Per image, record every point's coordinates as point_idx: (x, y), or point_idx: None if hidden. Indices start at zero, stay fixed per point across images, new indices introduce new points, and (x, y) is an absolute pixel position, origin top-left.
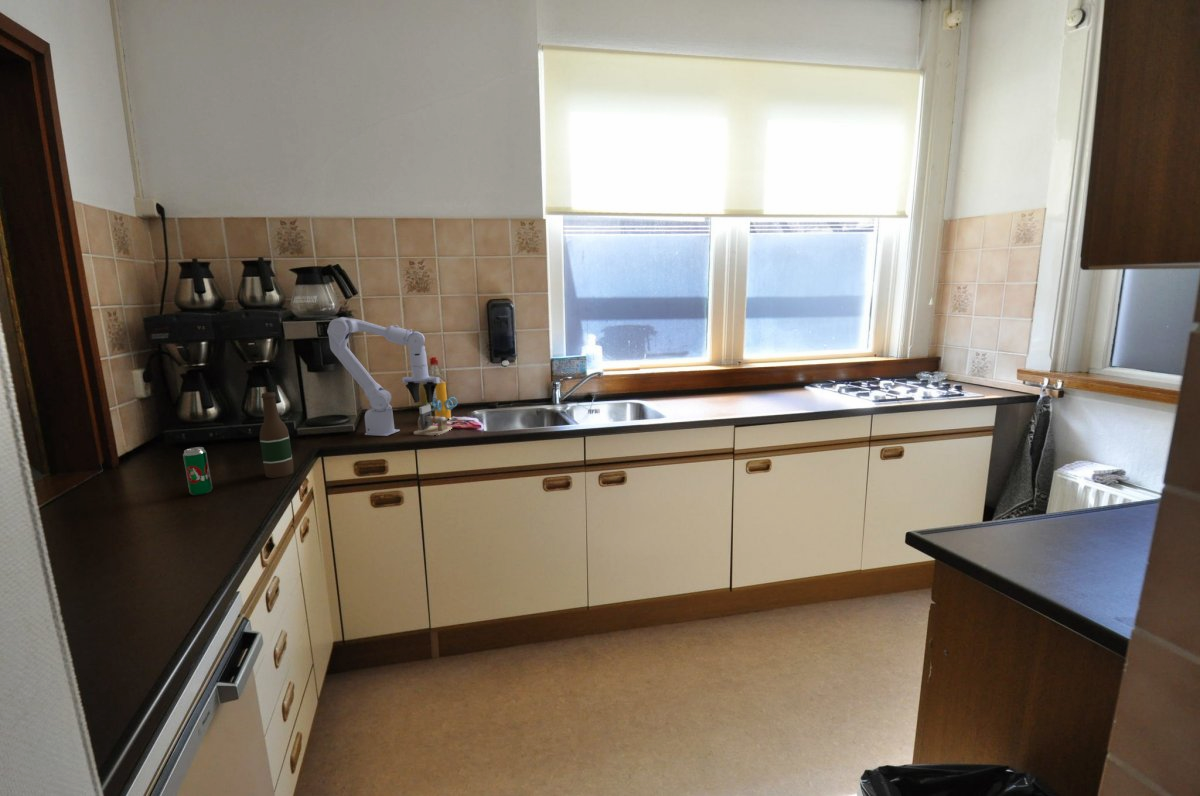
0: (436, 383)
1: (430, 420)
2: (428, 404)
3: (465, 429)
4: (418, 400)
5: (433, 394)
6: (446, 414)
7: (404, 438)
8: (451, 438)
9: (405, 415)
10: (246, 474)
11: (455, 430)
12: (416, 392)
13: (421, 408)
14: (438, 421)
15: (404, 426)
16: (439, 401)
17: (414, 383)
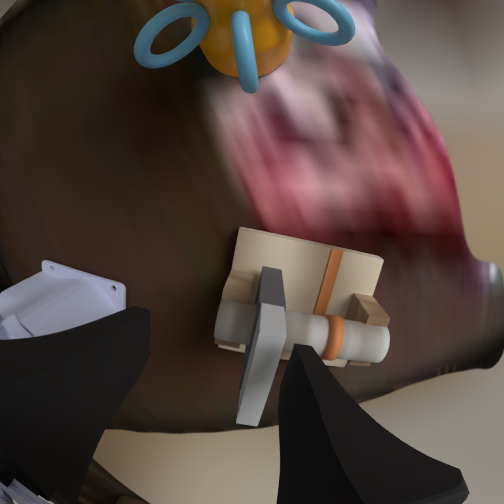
0: (452, 502)
1: None
2: (270, 344)
3: (434, 255)
4: (144, 328)
5: (345, 391)
6: (281, 51)
7: (213, 389)
8: (397, 382)
9: (52, 29)
10: (96, 488)
11: (397, 273)
12: (95, 391)
13: (255, 420)
14: (354, 364)
15: (99, 193)
16: (252, 39)
17: (34, 483)
